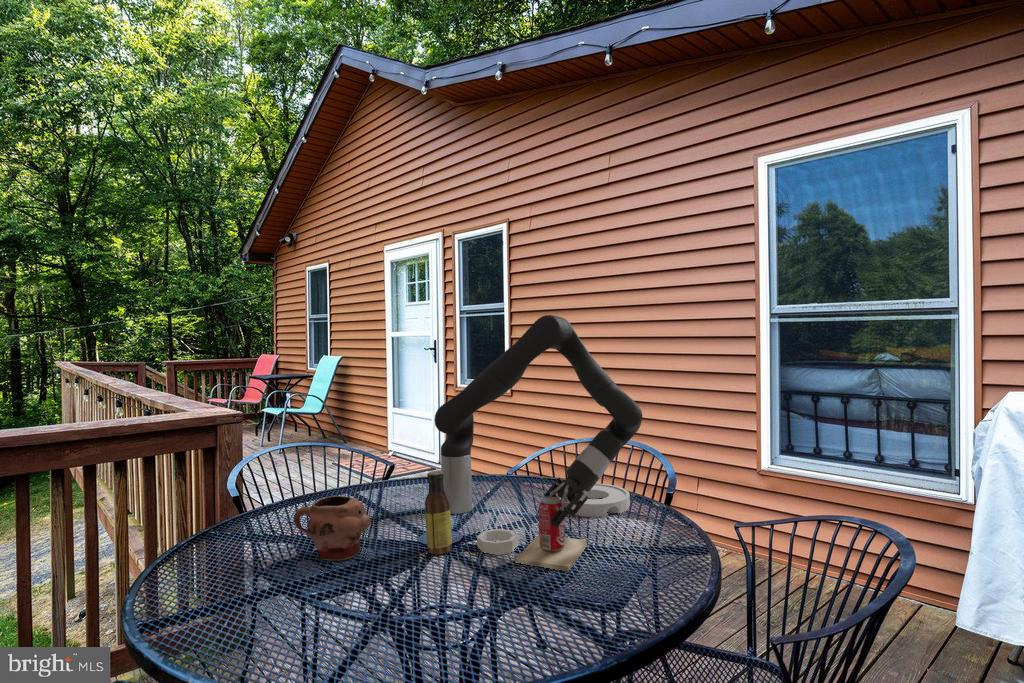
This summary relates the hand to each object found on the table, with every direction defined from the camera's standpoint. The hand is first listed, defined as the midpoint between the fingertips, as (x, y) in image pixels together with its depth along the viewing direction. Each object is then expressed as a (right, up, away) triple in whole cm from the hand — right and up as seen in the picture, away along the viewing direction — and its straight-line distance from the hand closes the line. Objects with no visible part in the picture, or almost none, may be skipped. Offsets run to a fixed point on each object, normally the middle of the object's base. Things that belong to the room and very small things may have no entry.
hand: (546, 519), depth 141 cm
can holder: (-12, -9, +6) cm, 16 cm away
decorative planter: (-53, -10, +3) cm, 54 cm away
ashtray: (+17, -8, +39) cm, 43 cm away
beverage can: (+1, -8, +1) cm, 8 cm away
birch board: (+2, -9, +1) cm, 9 cm away
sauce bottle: (-27, -9, +4) cm, 29 cm away
